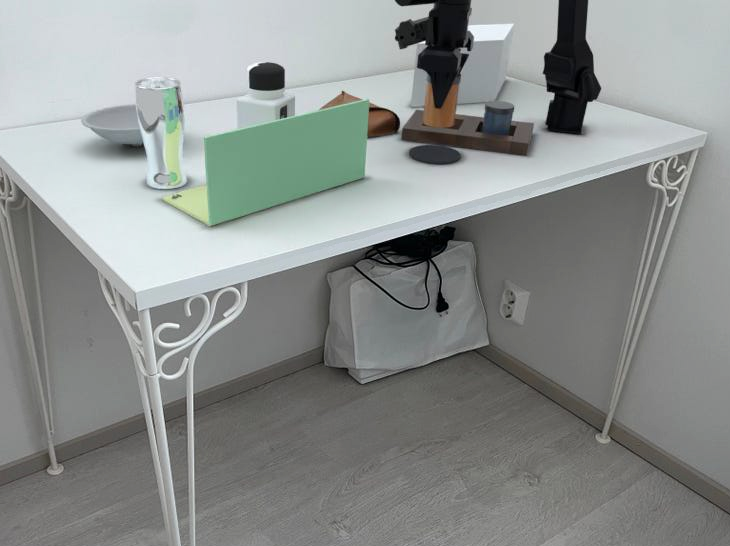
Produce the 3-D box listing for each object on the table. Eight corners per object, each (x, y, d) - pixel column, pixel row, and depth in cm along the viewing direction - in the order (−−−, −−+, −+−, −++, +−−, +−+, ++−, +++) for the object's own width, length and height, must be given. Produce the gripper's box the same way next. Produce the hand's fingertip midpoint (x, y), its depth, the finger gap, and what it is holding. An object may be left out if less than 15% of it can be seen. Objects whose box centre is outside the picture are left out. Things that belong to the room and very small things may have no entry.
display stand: (211, 226, 103) (205, 138, 96) (162, 199, 110) (154, 115, 103) (364, 178, 120) (369, 99, 113) (313, 157, 127) (314, 82, 120)
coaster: (464, 150, 133) (464, 148, 132) (456, 167, 125) (456, 164, 125) (414, 144, 135) (414, 142, 134) (403, 160, 128) (404, 158, 127)
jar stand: (532, 134, 141) (534, 122, 140) (526, 155, 131) (529, 143, 130) (415, 120, 147) (416, 109, 145) (401, 139, 137) (402, 128, 135)
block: (379, 98, 160) (383, 36, 153) (474, 73, 180) (482, 17, 173) (444, 116, 150) (452, 51, 143) (537, 87, 170) (548, 29, 163)
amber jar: (457, 120, 128) (463, 71, 124) (452, 129, 124) (458, 79, 120) (425, 116, 130) (430, 68, 125) (419, 125, 125) (423, 76, 121)
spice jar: (509, 138, 139) (516, 102, 136) (507, 146, 135) (513, 110, 132) (482, 134, 141) (487, 99, 137) (478, 142, 136) (483, 106, 133)
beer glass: (180, 192, 113) (171, 90, 104) (137, 188, 114) (125, 86, 105) (195, 176, 118) (189, 78, 110) (154, 172, 119) (144, 75, 111)
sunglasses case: (309, 112, 148) (324, 79, 146) (332, 125, 153) (347, 94, 151) (365, 137, 136) (382, 102, 134) (389, 150, 141) (406, 117, 139)
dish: (100, 165, 121) (96, 135, 118) (74, 140, 131) (69, 111, 128) (200, 149, 129) (198, 120, 126) (168, 126, 139) (166, 99, 136)
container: (295, 137, 136) (296, 62, 129) (275, 149, 130) (275, 72, 123) (258, 131, 138) (256, 57, 131) (237, 142, 133) (234, 66, 125)
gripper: (413, -11, 126) (405, 85, 134) (388, 7, 111) (381, 113, 120) (480, -6, 123) (467, 91, 132) (463, 13, 108) (450, 121, 117)
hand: (440, 103), depth 125 cm, fingers closed on amber jar, 5 cm apart
